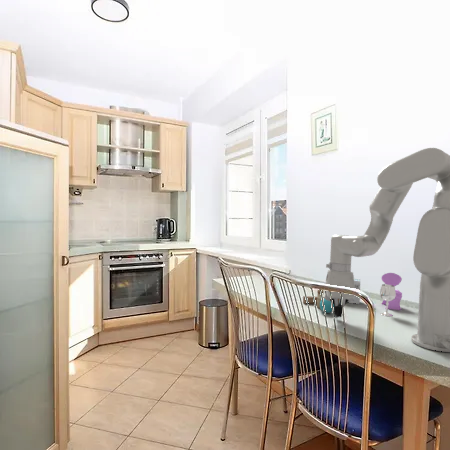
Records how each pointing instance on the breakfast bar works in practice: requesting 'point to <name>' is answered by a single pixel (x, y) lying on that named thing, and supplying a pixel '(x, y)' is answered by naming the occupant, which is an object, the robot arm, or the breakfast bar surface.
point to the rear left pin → (319, 298)
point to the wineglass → (387, 296)
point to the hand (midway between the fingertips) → (337, 315)
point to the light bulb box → (357, 286)
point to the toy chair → (395, 280)
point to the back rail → (310, 300)
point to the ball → (326, 306)
